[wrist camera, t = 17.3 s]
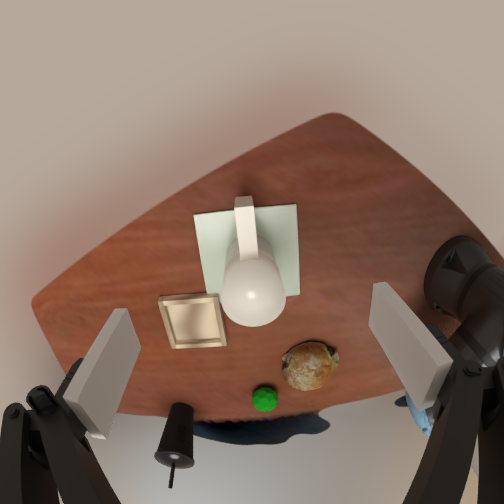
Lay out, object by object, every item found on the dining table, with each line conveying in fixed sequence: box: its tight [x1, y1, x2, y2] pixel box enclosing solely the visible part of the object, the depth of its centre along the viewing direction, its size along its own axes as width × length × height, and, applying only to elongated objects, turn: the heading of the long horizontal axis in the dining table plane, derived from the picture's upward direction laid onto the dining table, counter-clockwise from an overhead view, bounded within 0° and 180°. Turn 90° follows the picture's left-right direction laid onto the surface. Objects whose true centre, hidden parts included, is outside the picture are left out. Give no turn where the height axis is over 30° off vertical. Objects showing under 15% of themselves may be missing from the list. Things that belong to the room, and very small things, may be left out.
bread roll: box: [282, 342, 339, 391], centre depth 48 cm, size 10×10×8 cm
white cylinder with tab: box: [221, 195, 286, 327], centre depth 35 cm, size 13×7×12 cm, turn 6°
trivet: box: [194, 204, 300, 304], centre depth 42 cm, size 14×14×1 cm
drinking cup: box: [154, 403, 194, 488], centre depth 45 cm, size 8×8×20 cm
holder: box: [158, 292, 227, 349], centre depth 45 cm, size 9×9×2 cm
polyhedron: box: [252, 387, 278, 411], centre depth 50 cm, size 5×5×5 cm
